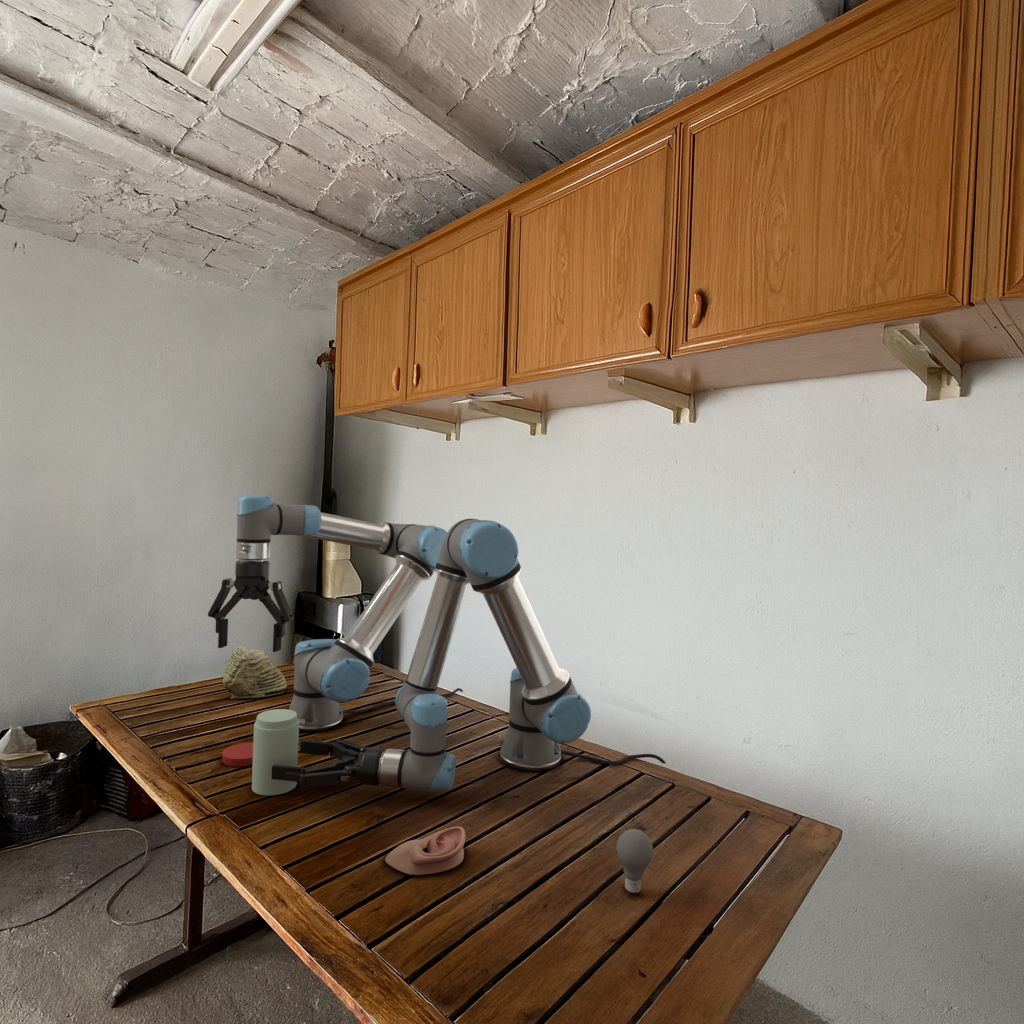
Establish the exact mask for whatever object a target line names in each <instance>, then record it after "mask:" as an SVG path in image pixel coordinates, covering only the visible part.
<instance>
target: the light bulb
mask: <svg viewBox="0 0 1024 1024" xmlns="http://www.w3.org/2000/svg"><path fill="white" fill-rule="evenodd" d="M615 849H616V854H617V857H618V859H619V861H620V863H621V865H622V867H623V873H624V874H623V875H624V876H625V878H624V888H625V890H627V891H628V892H630V893H634V894H635V893H639V892H640V891H641V889H642V887H641V886H642V879H643V877H644V875H645V871H646V868H647V867H648V866H649V864H650V863H651V861H652V859H653V855H654V847H653V843H652V841H651V838H649V836H648V835H647V834H646V833H645V832H643V831H642V830H641V829H636V828H629V829H627V830H625V831H623V832H622V833H621V834H620V835H619V837H618V839H617V841H616V847H615Z"/></svg>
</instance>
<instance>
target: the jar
mask: <svg viewBox="0 0 1024 1024" xmlns="http://www.w3.org/2000/svg"><path fill="white" fill-rule="evenodd" d="M297 716H298V715H297V713H296V712H295V711H292V710H289V708H288V709H287V708H276V709H269V710H265V711H262V712H259V714H257V715H256V718H255V722H254V724H253V740H252V742H253V765H252V767H251V768H252V769H251V770H252V771H251V790H252V792H253V793H255V794H257V795H260V796H277V795H282V794H286V793H289V792H290V791H293V790H295V788H296V787H297V784H298V782H296V781H285V780H274V779H271V778H272V766H273V765H282V766H293V767H299V765H298V763H299V740H300V739H299V738H300V737H299V735H300V734H299V733H300V731H299V719H297Z"/></svg>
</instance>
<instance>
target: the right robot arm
mask: <svg viewBox="0 0 1024 1024" xmlns="http://www.w3.org/2000/svg"><path fill="white" fill-rule="evenodd" d="M518 557H519V545H518V541H517V539H516V536H515V535H514V534H513V532H512V531H511V530H510V529H509V528H508V527H506V526H505V525H503V524H502V523H499V522H497V521H494V520H489V519H478V518H464V519H461V520H459V521H457V522H456V523H454V524H453V525H452V526H450V528H449V529H448V531H447V534H446V536H445V538H444V541H443V544H442V547H441V550H440V554H439V557H438V561H437V564H436V567H435V572H436V574H437V575H436V579H435V582H434V586H433V589H432V592H431V596H430V599H429V602H428V605H427V609H426V613H425V616H424V620H423V621H422V625H421V629H420V632H419V635H418V639H417V642H416V645H415V649H414V652H413V655H412V659H411V662H410V665H409V669H408V672H407V676H406V679H405V682H404V684H403V685H402V686H401V687H400V688H399V689H398V691H396V695H395V698H394V701H395V703H394V704H395V706H396V710H397V712H398V714H399V716H400V717H401V718H402V719H403V721H404V722H405V724H406V725H407V727H408V728H409V730H410V745H409V750H408V749H399V748H386V749H384V748H382V747H372V746H371V747H370V746H362V745H359V744H357V743H354V742H350V741H348V740H344V739H342V738H337V739H335V741H331V742H327V741H314V740H303V739H302V740H301V741H300V744H299V745H300V746H299V747H300V748H299V754H302V755H315V756H325V757H326V756H329V757H330V758H331V757H334V758H336V759H338V760H335V761H334V762H333V763H331V764H327V765H321V766H317V767H311V768H307V769H306V767H304V766H298V767H293V766H282V765H273V766H272V778H271V779H274V780H285V781H296V782H297V783H299V789H311V788H319V787H329V786H336V785H340V786H341V785H343V786H348V785H351V780H352V778H358V779H359V780H360V783H361V785H363V786H374V787H378V786H381V787H387V788H392V789H394V790H396V789H398V788H399V789H409V790H419V791H426V792H429V793H431V792H437V793H438V792H440V793H441V792H449V791H450V790H451V789H452V788H453V785H454V781H455V778H456V770H457V769H456V768H457V763H456V761H457V760H456V756H455V755H454V754H453V753H449V752H447V748H446V747H447V745H446V744H447V727H448V726H447V725H448V718H449V711H448V701H447V699H446V697H443V696H439V695H440V694H437V690H438V686H439V683H440V680H441V676H442V673H443V669H444V666H445V663H446V660H447V655H448V653H449V650H450V647H451V644H452V640H453V638H454V637H453V636H454V634H455V631H456V627H457V624H458V620H459V617H460V614H461V611H462V607H463V604H464V601H465V596H466V594H467V590H468V588H469V585H470V587H471V588H472V590H473V591H474V592H476V593H479V594H481V595H482V596H483V598H484V600H485V602H486V604H487V606H488V609H489V611H490V613H491V615H492V617H493V619H494V621H495V624H496V626H497V627H498V630H499V632H500V634H501V636H502V638H503V639H502V640H503V641H504V642H505V645H506V647H507V649H508V652H509V654H510V656H511V658H512V660H513V662H514V664H515V666H516V667H515V668H513V669H512V670H511V675H510V680H509V710H508V711H509V712H508V727H507V730H506V733H505V736H504V738H503V739H502V740H499V745H498V747H500V750H499V751H500V752H499V758H500V761H501V762H502V763H503V764H505V765H506V766H507V767H510V768H513V769H516V770H520V771H527V772H542V771H543V772H544V771H549V770H552V769H554V768H557V767H558V766H559V765H560V764H561V762H562V755H566V756H570V757H574V758H578V759H583V760H587V761H591V762H596V763H598V764H602V765H608V766H609V765H610V766H614V765H615V766H616V765H620V764H623V763H625V762H626V761H628V760H633V759H634V760H635V759H643V758H652V759H655V760H657V761H659V762H660V763H661V764H667V761H665V760H664V759H663V758H662V757H661V756H659V755H657V754H653V753H639V754H629V755H626V756H624V757H622V758H621V759H618V760H605V759H601V758H597V757H594V756H590V755H585V754H581V753H577V752H573V751H567V750H562V749H561V745H560V744H563V745H567V744H570V743H573V742H575V741H577V740H579V738H581V737H582V736H583V735H584V734H585V732H586V731H587V729H588V727H589V726H588V725H589V724H590V723H591V719H592V709H591V705H590V703H589V701H588V700H587V699H586V698H585V696H583V695H582V694H580V693H579V692H578V691H577V689H576V687H575V683H574V682H573V680H572V677H571V676H570V673H569V672H568V670H566V669H564V668H561V667H559V664H558V663H557V661H556V658H555V655H554V654H553V651H552V649H551V647H550V645H549V642H548V641H547V638H546V636H545V634H544V631H543V629H542V627H541V625H540V623H539V620H538V619H537V616H536V614H535V612H534V609H533V607H532V605H531V603H530V601H529V598H528V596H527V594H526V592H525V589H524V587H523V585H522V583H521V580H520V579H519V576H520V574H521V572H522V566H521V563H520V561H519V560H518Z"/></svg>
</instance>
